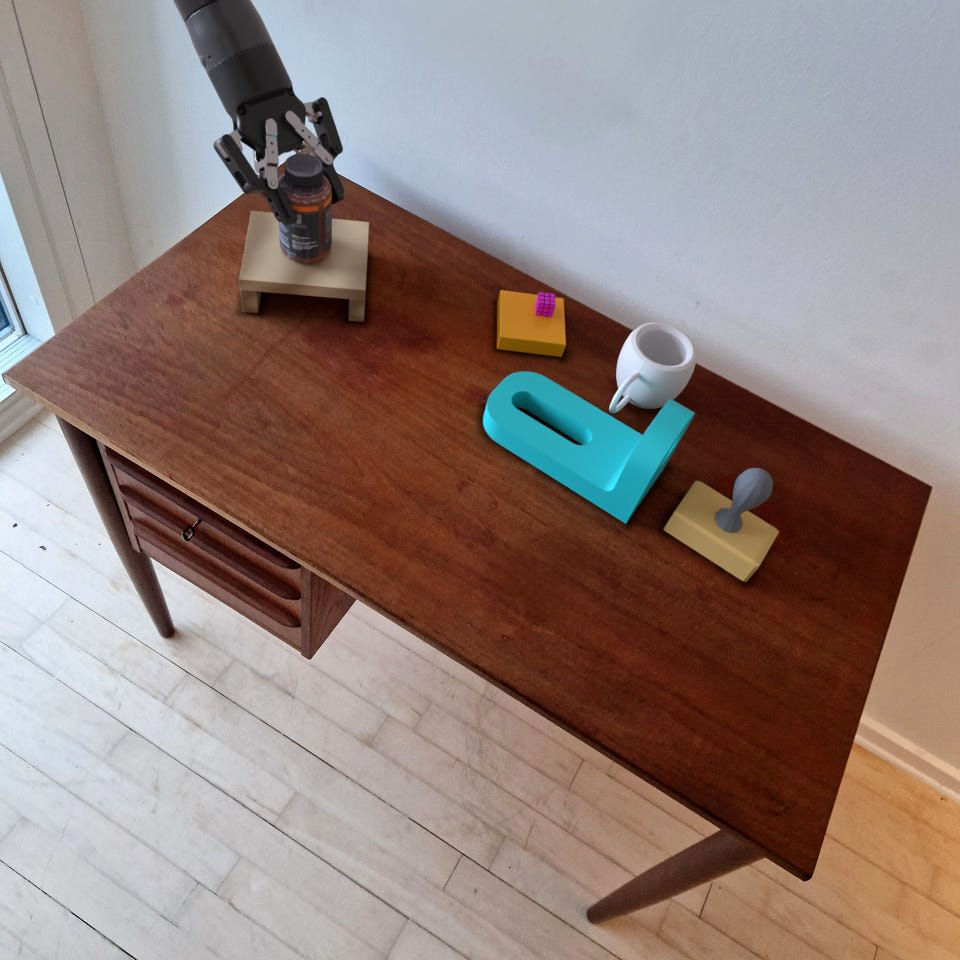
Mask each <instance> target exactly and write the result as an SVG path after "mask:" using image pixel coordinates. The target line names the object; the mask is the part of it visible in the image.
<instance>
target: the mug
mask: <svg viewBox="0 0 960 960" xmlns="http://www.w3.org/2000/svg"><path fill="white" fill-rule="evenodd" d="M697 358H698V357H697V349H696V346H695V344H694V342H693V341H692V339H691V338H690V337H689V335H687V334H686V333H685V332H684V331H682V330H681V329H680V328H678V327H676V326H674V325H671V324H669V323H664V322H655V321H654V322H646V323H643V324H641V325H639V326H638V327H636V328H635V329H634V330H632V331H631V332H630V334H629V335H628V337H627V338H626V340H625V341H624V343H623V345H622V347H621V350H620V352H619V355H618V357H617V362H616V363H617V364H616V369H615V371H616V372H615V378H616V385H617V390H616V391H615V394H614V395H613V397H612V399H611V402H610V404H609V407H608V410H609V413H610V414H613V415H614V414H616V413H618V412H620V411H621V410H622V409H623V408H624V407H625V406H626V405H627V404H628V403H630V404H631V405H633V406H635V407H638V408H641V409H644V410H651V409H659V408H663V406H664V405H665V404H666V402H667V401H668V400H669V399H672V400H674V401H675V399H676V398H677V397H678V396H679V395H680V394H681V393H682V392H683V390H684V389H685V388H686V387H687V385H688V383H689V381H690V380H691V378H692V376H693V373H694V371H695V368H696V364H697V360H698V359H697ZM621 397H623V398H622V399H621ZM620 399H621V400H620ZM619 401H620V402H619Z"/></svg>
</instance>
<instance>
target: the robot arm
mask: <svg viewBox="0 0 960 960" xmlns="http://www.w3.org/2000/svg"><path fill="white" fill-rule="evenodd" d="M172 1H173V3H174V5H175V7H176V10H177V11H178V13H179V15H180V17H181V19H182V21H183V23H184V25H185V28H186V30H187V31H188V35H189V37H190V40H191V43H192V46H193V48H194V50H195V52H196V55H197V57H198V59H199V62H200V64H201V66H202V67H203V69H204V70H205V72H206V74H207V76H208V79H209V81H210V83H211V84H212V86H213V88H214V90H215V92H216V94H217V96H218V98H219V100H220V102H221V105H222V106H223V108H224V110H225V112H226V113H227V114H228V116H229V117H230V118H231V121H232V132H230V133H225V134H223V135H222V136H220V137H219V138H217V139H216V140H214V142H213V143H212V147H213V149H214V151H215V152H216V154H217V155H218V157H219V159H220V160H221V161H222V163H223V164H224V166H225V167H226V169H227V170H228V172H229V173H230V175H231V176H232V177H233V179H234V181H235V182H236V184H237V185H238V186H239V188H240V189H241V191H242V193H244V194H245V195H251V194H260V195H262V196H263V197H264V199H265V200H266V202H267V204H268V206H269V208H270V210H271V213H273V214H274V216H275V218H276V220H277V221H278V222H279V223H281V222H282V223H283V224H284V226H288V225H291V224H293V223H295V222H297V217H296V215H295V213H294V211H293V209H292V207H291V204H290V202H289V200H288V198H287V196H286V194H285V192H284V190H283V188H282V187H281V188H278V185H279V183H278V180H279V173H278V167H279V164H280V163H279V162H280V160H279V159H280V158H279V157H280V156H281V155H283V154H287V153H291V152H295V154H309V155H312V156H315V157H316V158H318V159H319V160H320V161H321V163H322V166H323V175H324V176H325V177H326V178H327V179H328V180H329V182H330V184H331V189H332V205H335V204H337V203H339V202H342V201H344V200H345V196H344V193H345V187H344V185H343V184H342V181H341V179H340V177H339V174H338V173H337V170H336V168H335V166H334V161H335V159H336V158H337V157H338V156H339V155H340V154H342V153H343V151H344V147H343V143H342V140H341V138H340V135H339V131H338V129H337V125H336V123H335V120H334V116H333V114H332V110H331V107H330V104H329V101H328V100H327V99H326V98H325V97H324V96H323V97H322V96H321V97H318V98H317V99H315V100H314V101H308V102H303V101H302V100H301V99H299V97H298V96H297V95H296V93H295V91H294V87H293V82H292V79H291V77H290V75H289V72H288V71H287V69H286V67H285V64H284V63H283V60H282V57H281V56H280V54H279V52H278V50H277V48H276V45H275V43H274V41H273V39H272V37H271V35H270V33H269V31H268V28H267V26H266V24H265V22H264V20H263V17H262V16H261V14H260V12H259V10H258V9H257V8H256V6H255V5H254V3H253V2H252V0H172ZM306 117H307V120H308V122H309V123H311V124H312V125H313V128H314V131H315V134H316V135H315V134H314V133H313V132H312V131H311V129H309V128H308V127H307V126H306ZM242 143H243V144H244V145H245V146H247V147H248V148H250V149H251V150H252V153H253V154H252V155H253V165H254V168H253V166H252V165H251V163H250V162H249V160H248V159H247V157H246V156H245V154H244V153H243V151H244V150H243V145H242Z"/></svg>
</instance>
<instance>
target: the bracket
mask: <svg viewBox="0 0 960 960" xmlns="http://www.w3.org/2000/svg"><path fill="white" fill-rule="evenodd" d="M518 408H521V409H523V410H525V411H527V412H529V413H531V414H532V415H534V416H536V417H537V418H538V419H540V420H542V421H544V422H546V423H547V424H549V425H550V426H551V427H554V428H555V429H556V430H558V431H560V432H561V433H564V434H565V435H566V436H568V437H570V438H571V439H573V440H574V441H576V442H578V443H579V444H576V443H573V442H571V440H568V438H565V437H563V436H562V435H561V434H559V433H557V432H555V431H554V430H553V429H550V428H549V427H547V426H546V425H544V424H543V423H541V422H539V421H538V420H536V419H534V418H533V417H531V416H530V415H528V414H526V413H524V412H523V411H522V410H520V409H518ZM695 415H696V413H695V412H694V411H693V410H691V409H690V408H688V407H685V406H684V405H682V404H681V403H679V402H677V401H675V399H674V400H672V399H669V400H668V401H667V402H666V404H665V405H664V406H662V407H661V409H660V410H659V411H658V413H657V414H656V416H655V417H654V418H653V420H652V421H651V423H650V424H649V425H648V426H647V428H646V430H645V431H644V433H643V434H641V433H640V432H638V431H636V430H635V429H633V428H632V427H630V426H628V425H626V424H625V423H624V422H621V421H620V420H618V419H616V418H615V417H613V416H612V415H610V414H608V413H607V412H605V411H603V410H601V409H600V408H598V407H597V406H595V405H593V404H592V403H590V402H588V401H586V400H585V399H583V398H582V397H580V396H578V395H576V394H575V393H574V392H572V391H570V390H568V389H567V388H565V387H563V386H562V385H560V384H558V383H557V382H555V381H553V380H551V379H550V378H548V377H546V376H545V375H543V374H540V373H538V372H534V371H517V372H516V371H515V372H512V373H511V374H508V375H507V376H506V377H504V378H503V379H502V381H500V383H498V384H497V386H496V387H495V388H494V389H493V390H492V391H491V392H490V394H489V395H488V396H487V401H486V405H485V409H484V413H483V416H482V425H483V428H484V430H485V433H486V434H487V435H488V436H489V438H490V439H491V440H493V441H494V442H495V443H497V444H498V445H500V446H501V447H503V448H504V449H506V450H508V451H510V453H512V454H514V455H516V456H517V457H519V458H520V459H522V460H524V461H525V462H526V463H529V464H530V465H531V466H533V467H535V468H536V469H538V470H539V471H541V472H543V473H544V474H546V475H547V476H549V477H550V478H552V479H554V480H555V481H557V482H559V483H560V484H562V485H564V486H565V487H567V488H568V489H570V490H571V491H573V492H574V493H576V494H578V495H579V496H581V497H582V498H584V499H586V500H587V501H589V502H590V503H592V504H593V505H595V506H596V507H598V508H600V509H602V510H603V511H604V512H607V513H608V514H610V515H611V516H613V517H614V518H616V519H617V520H619V521H620V522H622V523H624V524H627V523H628V522H629V520H630V519H631V517H632V516H633V514H634V513H635V511H636V510H637V508H638V507H639V505H640V504H641V503H642V501H643V500H644V499H645V497H646V496H647V494H648V492H649V491H650V489H651V488H652V487H653V486H654V484H655V483H656V481H657V480H658V478H659V476H660V475H661V474H662V472H663V471H664V470H665V468H666V466H667V465H668V462H669V461H670V459H671V458H672V456H673V454H674V452H675V450H676V449H677V447H678V445H679V443H680V441H681V440H682V438H683V437H684V434H685V433H686V431H687V429H688V427H689V426H690V424H691V422H692V421H693V419H694V418H695V417H694V416H695Z"/></svg>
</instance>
